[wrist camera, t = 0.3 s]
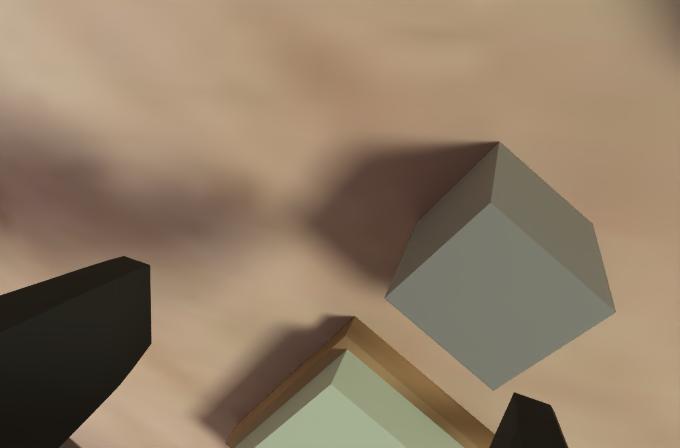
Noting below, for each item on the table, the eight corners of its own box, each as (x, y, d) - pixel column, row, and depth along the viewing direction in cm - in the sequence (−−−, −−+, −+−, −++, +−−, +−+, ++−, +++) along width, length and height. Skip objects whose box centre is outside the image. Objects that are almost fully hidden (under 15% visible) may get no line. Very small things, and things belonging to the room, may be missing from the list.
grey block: (592, 223, 17) (615, 312, 12) (500, 293, 19) (493, 390, 14) (499, 141, 16) (490, 202, 12) (416, 221, 18) (384, 298, 14)
